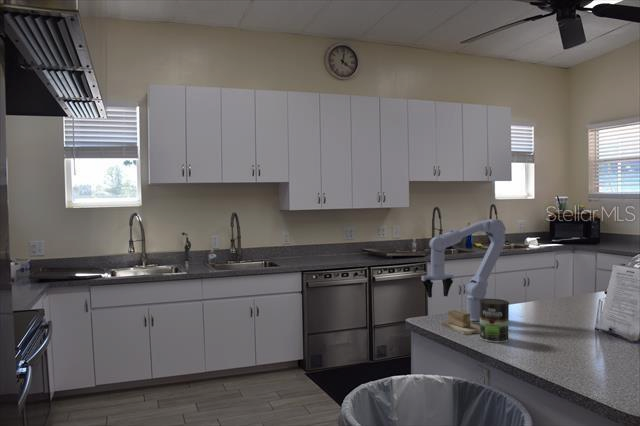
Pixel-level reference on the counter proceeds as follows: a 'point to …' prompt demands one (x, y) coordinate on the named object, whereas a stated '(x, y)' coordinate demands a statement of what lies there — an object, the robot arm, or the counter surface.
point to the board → (466, 330)
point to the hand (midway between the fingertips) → (437, 296)
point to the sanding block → (459, 318)
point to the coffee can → (494, 320)
